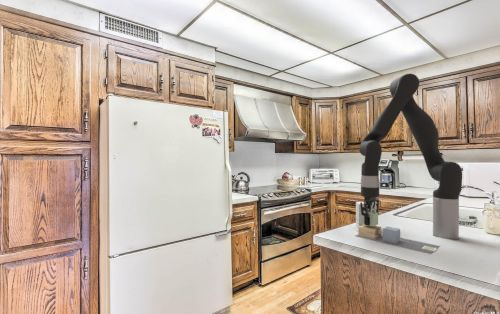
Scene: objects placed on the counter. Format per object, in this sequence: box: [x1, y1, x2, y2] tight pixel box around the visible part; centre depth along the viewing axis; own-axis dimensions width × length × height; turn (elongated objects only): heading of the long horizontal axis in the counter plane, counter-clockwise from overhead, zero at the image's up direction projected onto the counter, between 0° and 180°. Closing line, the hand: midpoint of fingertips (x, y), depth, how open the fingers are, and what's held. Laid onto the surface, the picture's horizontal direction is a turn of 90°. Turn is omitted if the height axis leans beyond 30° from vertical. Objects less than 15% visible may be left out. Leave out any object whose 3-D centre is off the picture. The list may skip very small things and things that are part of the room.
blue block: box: [382, 225, 401, 243], centre depth 111 cm, size 5×5×5 cm
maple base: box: [358, 225, 382, 239], centre depth 118 cm, size 7×7×4 cm
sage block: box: [362, 212, 379, 226], centre depth 118 cm, size 5×5×5 cm
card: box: [422, 246, 438, 253], centre depth 101 cm, size 4×4×1 cm
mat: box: [354, 233, 441, 255], centre depth 111 cm, size 12×29×1 cm, turn 42°
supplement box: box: [355, 201, 369, 230], centre depth 131 cm, size 7×7×13 cm
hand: (369, 223), depth 118 cm, fingers closed on sage block, 5 cm apart
